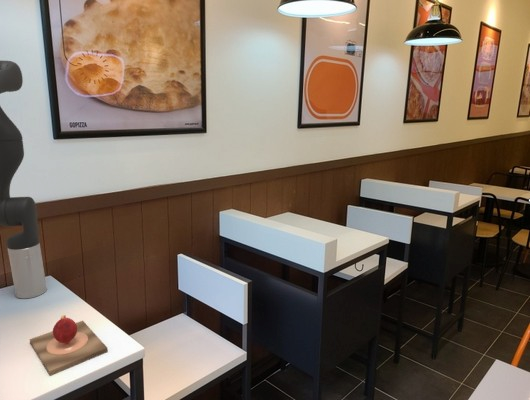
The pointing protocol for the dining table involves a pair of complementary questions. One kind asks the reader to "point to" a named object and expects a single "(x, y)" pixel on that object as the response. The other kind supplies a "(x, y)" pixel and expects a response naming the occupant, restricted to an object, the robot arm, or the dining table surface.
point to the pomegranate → (64, 330)
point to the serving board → (67, 349)
